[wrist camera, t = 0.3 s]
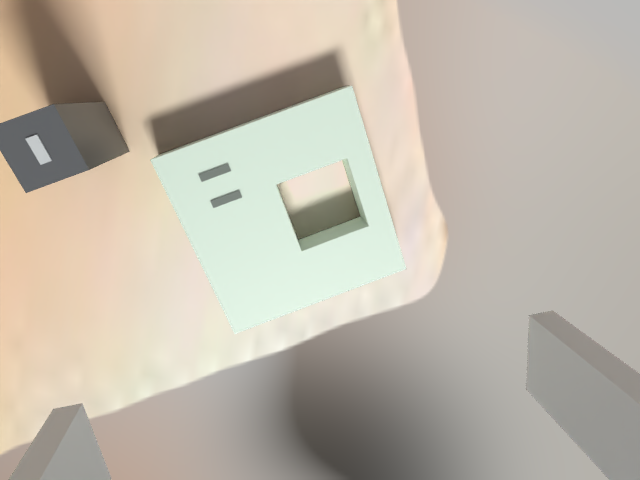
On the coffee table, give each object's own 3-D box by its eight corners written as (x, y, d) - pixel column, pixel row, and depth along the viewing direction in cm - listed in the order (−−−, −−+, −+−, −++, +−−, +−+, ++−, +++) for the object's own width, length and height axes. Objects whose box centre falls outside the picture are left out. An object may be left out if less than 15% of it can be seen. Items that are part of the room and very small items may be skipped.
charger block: (55, 119, 33) (-15, 128, 24) (104, 101, 33) (52, 104, 25) (82, 168, 34) (25, 193, 26) (129, 151, 35) (88, 170, 26)
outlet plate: (158, 154, 35) (150, 159, 32) (344, 86, 35) (352, 85, 32) (236, 317, 40) (234, 334, 37) (395, 256, 41) (406, 269, 38)
